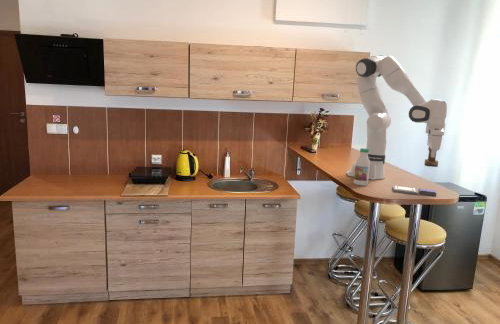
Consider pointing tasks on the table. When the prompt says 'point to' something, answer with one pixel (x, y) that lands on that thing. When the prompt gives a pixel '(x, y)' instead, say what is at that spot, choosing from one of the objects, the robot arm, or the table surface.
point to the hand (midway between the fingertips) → (431, 156)
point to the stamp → (431, 160)
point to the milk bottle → (362, 168)
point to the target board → (405, 190)
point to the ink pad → (427, 192)
